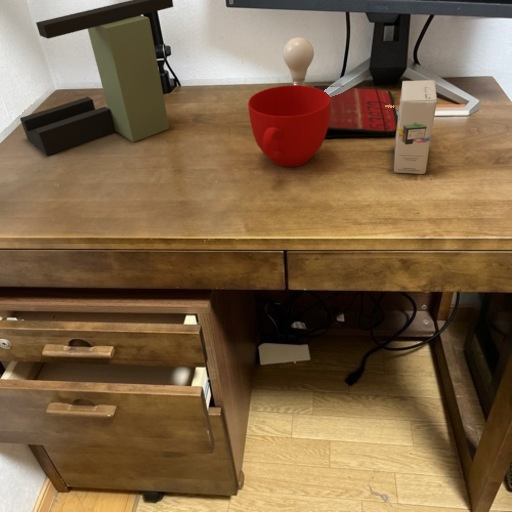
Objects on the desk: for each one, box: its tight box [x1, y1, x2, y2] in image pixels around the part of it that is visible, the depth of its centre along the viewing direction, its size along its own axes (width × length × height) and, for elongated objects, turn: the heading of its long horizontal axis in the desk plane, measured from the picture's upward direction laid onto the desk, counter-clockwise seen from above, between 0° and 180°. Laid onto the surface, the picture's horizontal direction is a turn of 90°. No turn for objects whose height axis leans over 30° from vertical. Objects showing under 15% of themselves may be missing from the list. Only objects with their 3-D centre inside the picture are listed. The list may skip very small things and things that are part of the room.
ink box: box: [393, 79, 438, 175], centre depth 76 cm, size 8×5×12 cm, turn 167°
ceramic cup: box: [247, 84, 331, 168], centre depth 79 cm, size 13×17×10 cm
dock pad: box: [19, 96, 116, 157], centre depth 95 cm, size 10×14×4 cm
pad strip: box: [35, 0, 174, 40], centre depth 83 cm, size 3×24×2 cm, turn 133°
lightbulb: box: [282, 36, 315, 86], centre depth 104 cm, size 6×6×11 cm
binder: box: [312, 85, 398, 138], centre depth 95 cm, size 16×2×21 cm
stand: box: [87, 15, 170, 143], centre depth 90 cm, size 8×8×20 cm
